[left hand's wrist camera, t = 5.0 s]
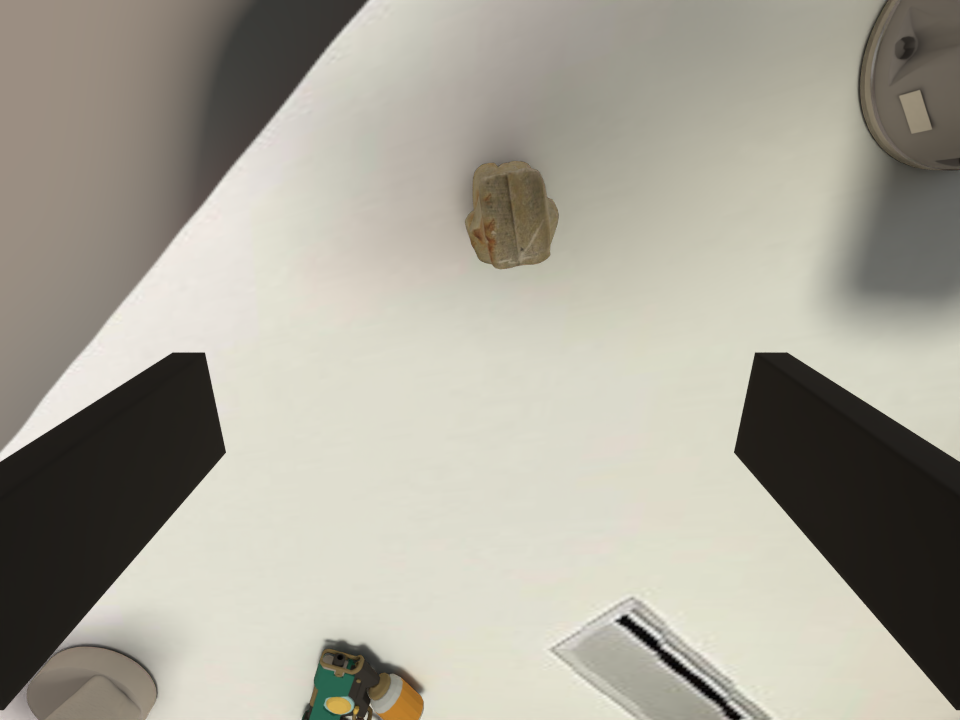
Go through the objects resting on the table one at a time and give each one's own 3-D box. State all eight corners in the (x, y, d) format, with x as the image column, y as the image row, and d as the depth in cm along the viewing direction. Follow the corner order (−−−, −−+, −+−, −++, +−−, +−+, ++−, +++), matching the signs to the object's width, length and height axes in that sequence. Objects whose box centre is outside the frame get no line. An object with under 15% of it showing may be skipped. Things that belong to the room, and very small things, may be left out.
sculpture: (540, 158, 39) (574, 158, 25) (543, 253, 42) (575, 301, 28) (464, 164, 39) (456, 167, 25) (472, 258, 42) (468, 308, 28)
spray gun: (378, 752, 66) (273, 703, 63) (448, 685, 60) (336, 627, 57) (369, 791, 62) (257, 740, 59) (443, 723, 56) (322, 663, 53)
